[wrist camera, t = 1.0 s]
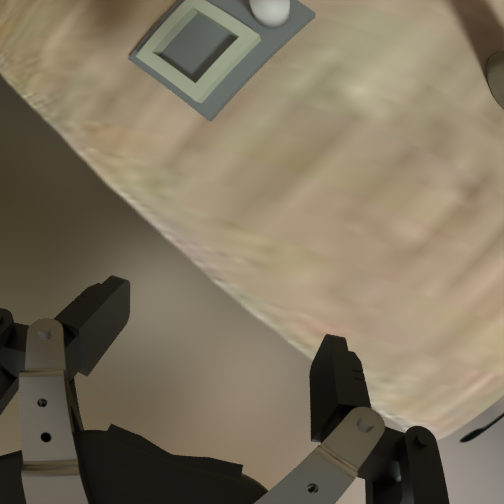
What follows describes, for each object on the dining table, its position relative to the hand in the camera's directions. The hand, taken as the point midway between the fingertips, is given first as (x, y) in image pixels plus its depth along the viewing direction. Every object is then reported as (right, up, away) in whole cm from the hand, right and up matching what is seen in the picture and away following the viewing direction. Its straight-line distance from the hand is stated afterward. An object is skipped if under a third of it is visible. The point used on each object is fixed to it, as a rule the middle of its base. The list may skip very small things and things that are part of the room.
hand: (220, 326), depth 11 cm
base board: (-3, +28, +16) cm, 33 cm away
